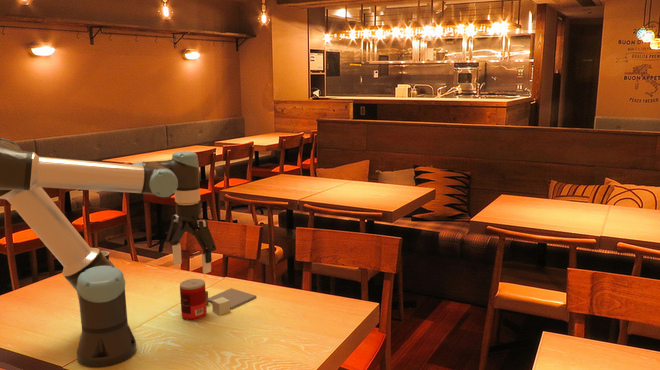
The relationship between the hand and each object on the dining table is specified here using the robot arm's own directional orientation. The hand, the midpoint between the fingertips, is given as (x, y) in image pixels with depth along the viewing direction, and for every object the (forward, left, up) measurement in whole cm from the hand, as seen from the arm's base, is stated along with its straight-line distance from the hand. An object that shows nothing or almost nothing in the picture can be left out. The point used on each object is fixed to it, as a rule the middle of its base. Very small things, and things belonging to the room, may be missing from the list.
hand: (192, 268), depth 175 cm
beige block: (+7, -5, -16) cm, 18 cm away
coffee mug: (+2, +55, -16) cm, 57 cm away
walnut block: (+6, +5, -16) cm, 18 cm away
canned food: (0, 0, -16) cm, 16 cm away
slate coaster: (+16, 0, -16) cm, 22 cm away
